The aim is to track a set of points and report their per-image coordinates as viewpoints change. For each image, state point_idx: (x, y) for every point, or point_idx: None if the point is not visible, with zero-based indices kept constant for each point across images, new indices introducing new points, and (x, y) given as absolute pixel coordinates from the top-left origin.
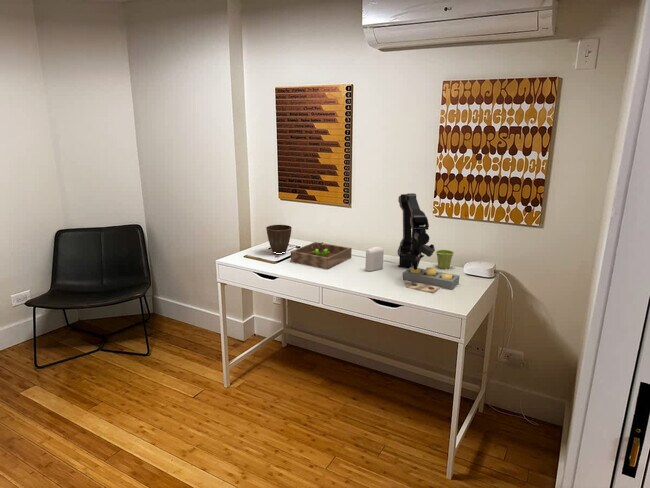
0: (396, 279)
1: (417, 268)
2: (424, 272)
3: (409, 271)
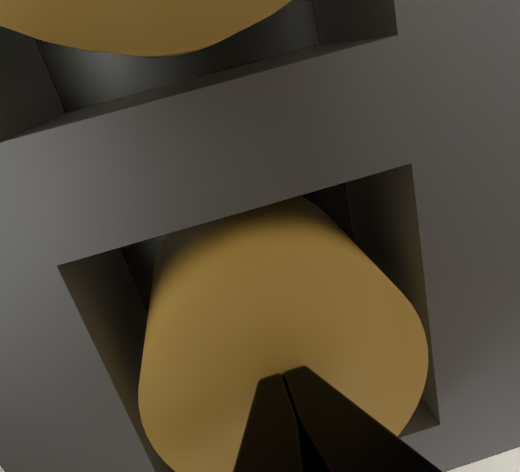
0: None
1: (179, 414)
2: (186, 126)
3: None
